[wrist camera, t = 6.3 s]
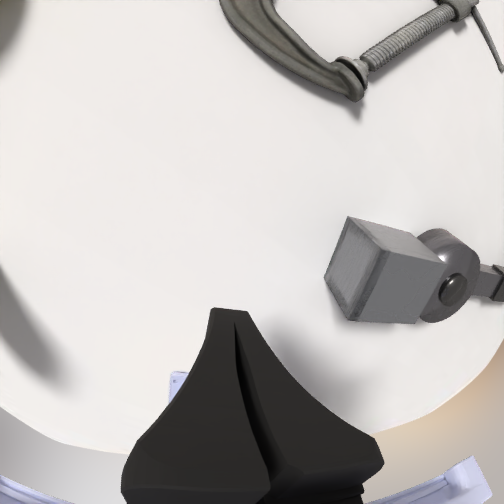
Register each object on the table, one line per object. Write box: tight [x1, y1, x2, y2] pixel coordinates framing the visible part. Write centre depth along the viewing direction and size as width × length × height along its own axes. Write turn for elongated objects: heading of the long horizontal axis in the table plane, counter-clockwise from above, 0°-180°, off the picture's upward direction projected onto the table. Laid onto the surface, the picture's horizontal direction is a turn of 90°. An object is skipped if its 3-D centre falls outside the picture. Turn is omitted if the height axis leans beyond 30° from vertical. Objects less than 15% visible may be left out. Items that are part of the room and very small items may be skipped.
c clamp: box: [219, 0, 504, 102], centre depth 12 cm, size 20×17×3 cm
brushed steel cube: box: [324, 216, 447, 324], centre depth 19 cm, size 6×5×5 cm
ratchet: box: [417, 229, 504, 323], centre depth 22 cm, size 25×7×4 cm, turn 77°
